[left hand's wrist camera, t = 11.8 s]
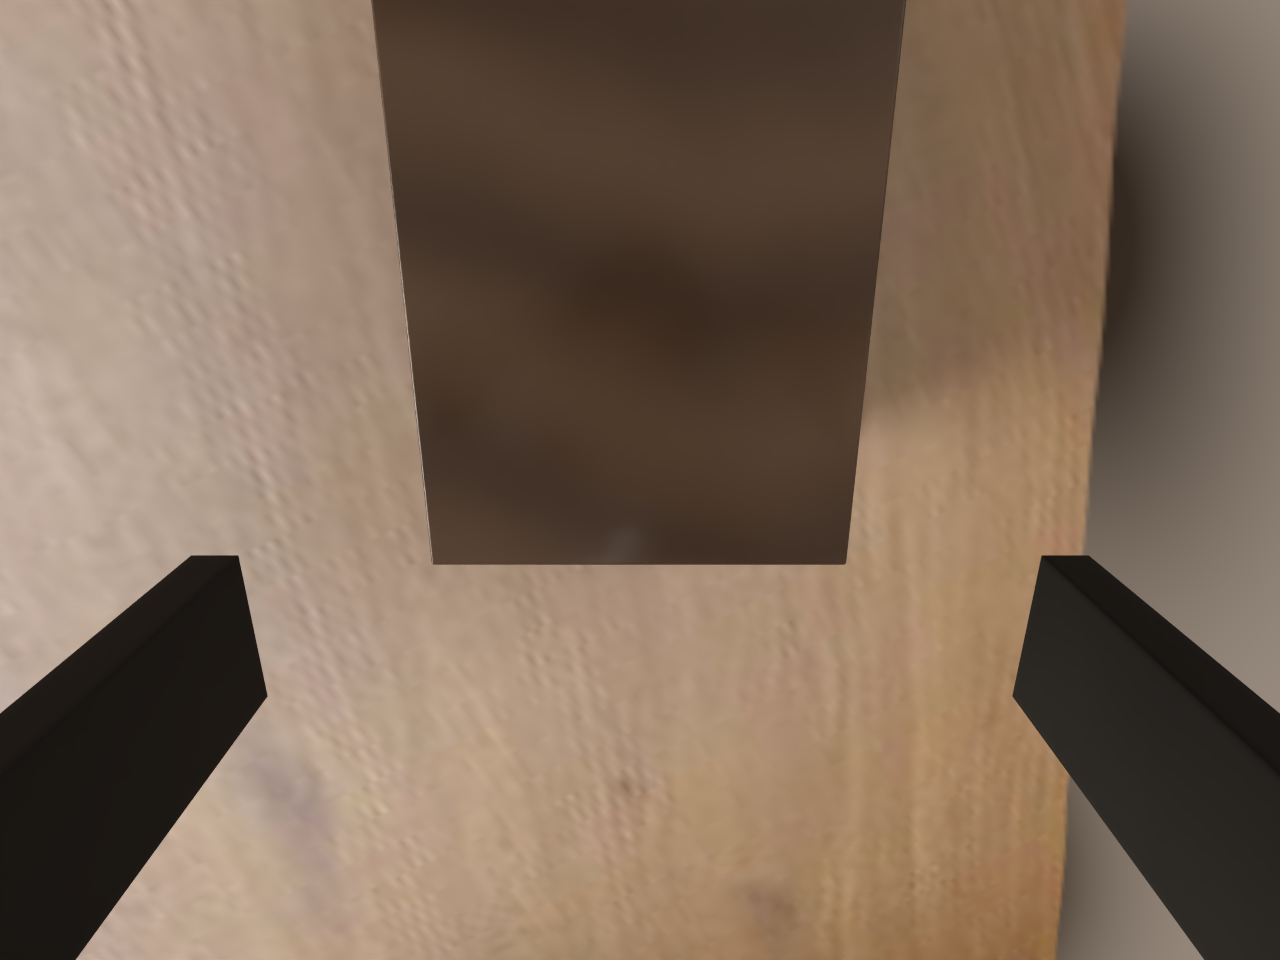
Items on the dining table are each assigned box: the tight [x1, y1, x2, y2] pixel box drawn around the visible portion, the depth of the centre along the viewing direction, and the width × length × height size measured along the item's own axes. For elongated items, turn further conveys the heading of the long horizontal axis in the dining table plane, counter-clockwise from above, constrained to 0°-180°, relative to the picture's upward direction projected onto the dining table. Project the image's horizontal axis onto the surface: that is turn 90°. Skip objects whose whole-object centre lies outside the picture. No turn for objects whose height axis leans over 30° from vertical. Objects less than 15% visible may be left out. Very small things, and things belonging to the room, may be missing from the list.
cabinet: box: [371, 0, 906, 565], centre depth 22 cm, size 16×11×10 cm
